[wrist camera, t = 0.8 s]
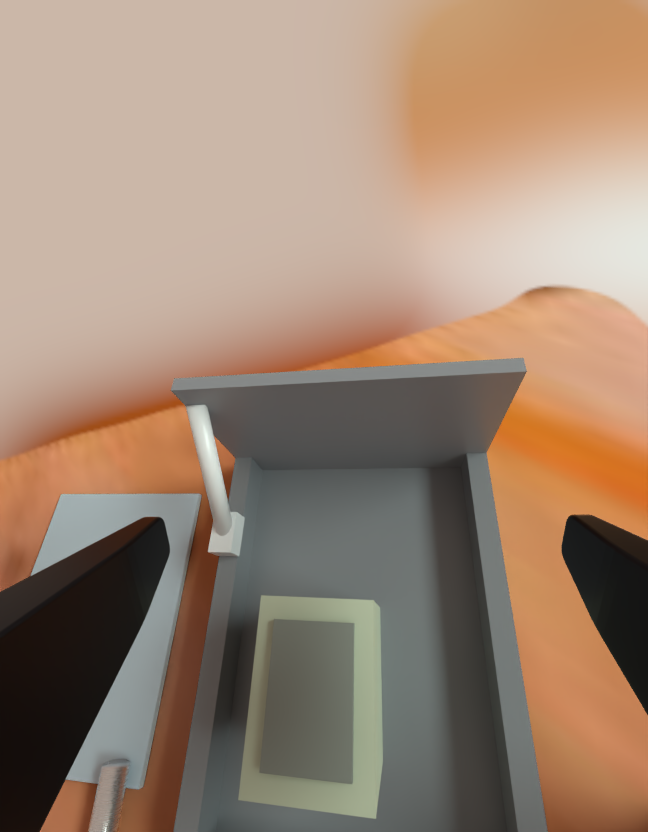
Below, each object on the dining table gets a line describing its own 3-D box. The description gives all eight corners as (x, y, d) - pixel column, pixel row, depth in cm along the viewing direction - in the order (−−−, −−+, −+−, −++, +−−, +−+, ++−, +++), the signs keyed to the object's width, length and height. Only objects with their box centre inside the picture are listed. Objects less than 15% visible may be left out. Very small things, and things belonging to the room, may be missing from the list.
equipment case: (544, 914, 14) (760, 1343, 6) (191, 856, 17) (-28, 1096, 8) (476, 459, 23) (523, 357, 14) (249, 463, 25) (171, 378, 17)
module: (382, 760, 17) (375, 823, 12) (285, 749, 18) (234, 803, 12) (380, 607, 20) (373, 599, 14) (296, 603, 21) (258, 594, 15)
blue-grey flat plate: (143, 786, 18) (138, 789, 18) (-33, 762, 20) (-41, 764, 20) (201, 495, 25) (198, 493, 25) (65, 495, 27) (61, 494, 26)
